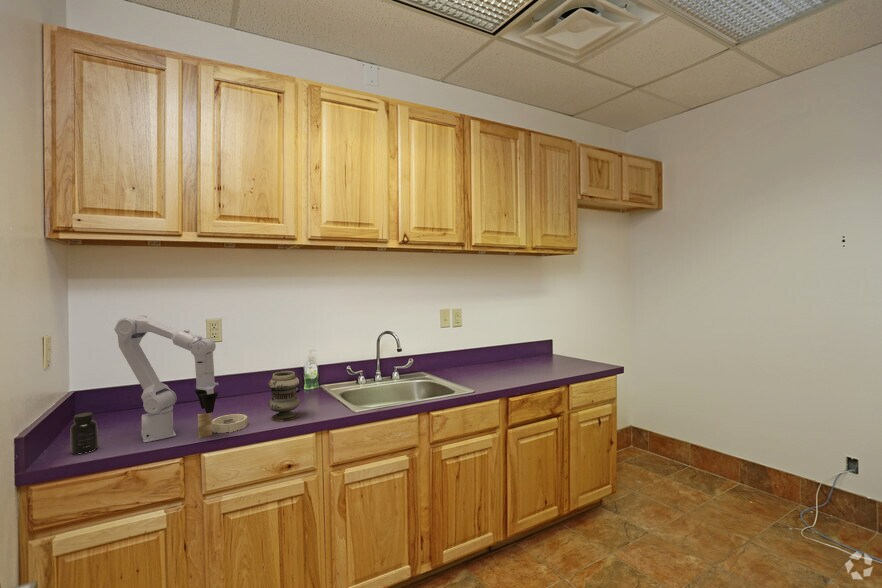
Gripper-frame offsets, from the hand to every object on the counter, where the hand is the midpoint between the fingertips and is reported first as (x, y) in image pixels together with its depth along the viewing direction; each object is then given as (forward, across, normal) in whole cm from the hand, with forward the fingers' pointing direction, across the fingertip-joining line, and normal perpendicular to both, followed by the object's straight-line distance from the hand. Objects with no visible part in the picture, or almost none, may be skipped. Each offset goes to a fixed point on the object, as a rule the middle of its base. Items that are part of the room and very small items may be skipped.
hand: (207, 410), depth 152 cm
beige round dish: (+9, +4, -8) cm, 13 cm away
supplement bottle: (+8, +11, +34) cm, 37 cm away
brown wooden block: (+9, 0, +1) cm, 9 cm away
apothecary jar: (+10, +2, -28) cm, 30 cm away
